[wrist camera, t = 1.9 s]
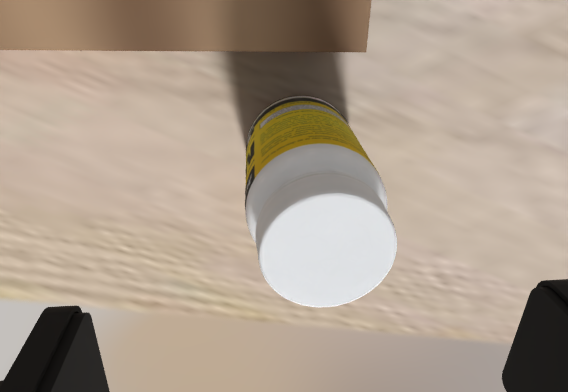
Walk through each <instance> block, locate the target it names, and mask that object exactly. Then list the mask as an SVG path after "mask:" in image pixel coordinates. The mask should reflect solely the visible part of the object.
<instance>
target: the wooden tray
mask: <svg viewBox="0 0 568 392" xmlns="http://www.w3.org/2000/svg"><path fill="white" fill-rule="evenodd" d="M370 8H371V0H0V50H101V51H252V52H366V48H367V38H368V28H369V18H370Z"/></svg>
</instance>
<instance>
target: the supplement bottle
mask: <svg viewBox="0 0 568 392" xmlns="http://www.w3.org/2000/svg"><path fill="white" fill-rule="evenodd" d="M245 194H246V198H245V210H246V220H247V225H248V228H249V231H250V233H251V236H252V237H253V239H254V241H255V243H256V246H257V250H258V260H259V265H260V268H261V271H262V274H263V276H264V278H265V279H266V281H267V282H268V284H269V285H270V286H271V287H272V288H273V289H274V290H275V291H276V292H277V293H278V294H280V295H281V296H282V297H284V298H286V299H288V300H290V301H292V302H295V303H297V304H300V305H305V306H309V307H332V306H338V305H342V304H346V303H349V302H351V301H354V300H356V299H358V298H360V297H362V296H364V295H366V294H367V293H368V292H370V291H371V290H373V289H374V288H375V287H376V286H377V285H378V284H379V283H380V282H381V281H382V280H383V279H384V278H385V276H386V275H387V273H388V272H389V270H390V268H391V267H392V264H393V262H394V259H395V255H396V250H397V237H396V232H395V228H394V225H393V222H392V220H391V218H390V216H389V214H388V212H387V195H386V190H385V187H384V184H383V182H382V180H381V177H380V175H379V173H378V171H377V170H376V168H375V167H374V165H373V164H372V162H371V161H370V159H369V157H368V156H367V154H366V153H365V151H364V150H363V148H362V146H361V145H360V143H359V141H358V140H357V138H356V136H355V135H354V133H353V131H352V130H351V128H350V126H349V125H348V123H347V122H346V120H345V119H344V117H343V116H342V115H341V113H340V112H339V111H338V110H337V109H336V108H335V107H333V106H332V105H331V104H329V103H327V102H325V101H323V100H321V99H318V98H315V97H310V96H293V97H288V98H284V99H281V100H279V101H277V102H275V103H273V104H272V105H270V106H269V107H267V108H266V109H265V110H264V111H262V112H261V114H260V115H259V116H258V117H257V118H256V120H255V121H254V123H253V125H252V127H251V129H250V131H249V134H248V139H247V145H246V191H245Z"/></svg>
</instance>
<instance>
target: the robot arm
mask: <svg viewBox="0 0 568 392" xmlns="http://www.w3.org/2000/svg"><path fill="white" fill-rule="evenodd" d="M502 380H503V385H504V388H505V389H506V391H507V392H568V279H564V280H546V281H541V282H540V283H538V285H537V287H536V288H534V289H533V290H532V291H531V293H530V295H529V298H528V301H527V304H526V307H525V310H524V312H523V315H522V318H521V321H520V324H519V327H518V330H517V332H516V335H515V338H514V341H513V344H512V347H511V350H510V353H509V355H508V358H507V361H506V364H505V367H504V370H503V373H502ZM0 392H109V388H108V384H107V380H106V375H105V371H104V367H103V363H102V359H101V355H100V351H99V347H98V343H97V338H96V334H95V330H94V326H93V323H92V318H91V315H90V314H89V313H82V311H81V308H80V307H79V306H61V307H48V308H46V309H45V310H44V311H43V312H42V314H41V315H40V317H39V319H38V321H37V323H36V324H35V326H34V328H33V330H32V331H31V333H30V335H29V337H28V338H27V340H26V342H25V344H24V346H23V347H22V349H21V351H20V353H19V354H18V356H17V358H16V360H15V362H14V363H13V365H12V367H11V369H10V370H9V372H8V374H7V376H6V377H5V379H4V380H3V381H0Z"/></svg>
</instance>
